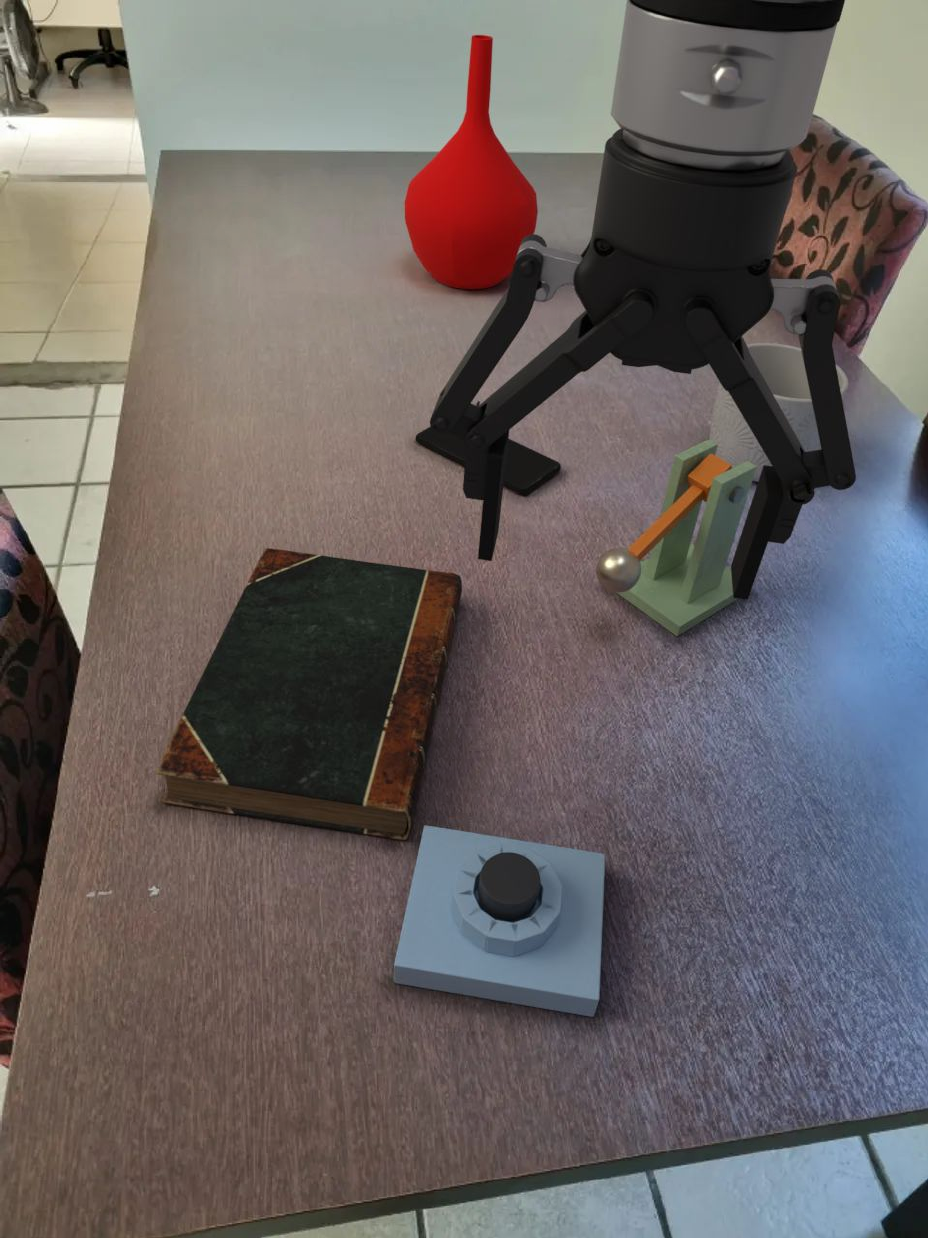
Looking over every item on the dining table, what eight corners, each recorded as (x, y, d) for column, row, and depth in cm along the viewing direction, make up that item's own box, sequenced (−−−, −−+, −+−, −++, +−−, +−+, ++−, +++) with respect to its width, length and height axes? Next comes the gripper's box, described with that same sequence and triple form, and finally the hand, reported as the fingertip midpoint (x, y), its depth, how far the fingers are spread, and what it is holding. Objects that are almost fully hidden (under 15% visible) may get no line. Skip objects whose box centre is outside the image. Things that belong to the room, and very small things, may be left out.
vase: (418, 306, 127) (425, 53, 107) (392, 253, 140) (394, 19, 120) (546, 299, 131) (577, 55, 111) (510, 249, 144) (531, 22, 124)
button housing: (600, 872, 63) (610, 837, 60) (593, 1018, 55) (604, 985, 52) (423, 843, 63) (425, 807, 61) (393, 983, 56) (393, 949, 53)
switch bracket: (676, 636, 80) (715, 504, 71) (609, 587, 85) (637, 456, 76) (748, 592, 85) (793, 463, 76) (681, 548, 90) (716, 421, 81)
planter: (826, 499, 98) (862, 405, 90) (707, 489, 98) (734, 394, 90) (802, 437, 107) (833, 347, 99) (693, 427, 107) (716, 337, 100)
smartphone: (524, 491, 94) (412, 435, 100) (523, 498, 94) (412, 442, 101) (564, 463, 98) (454, 411, 105) (563, 470, 98) (453, 418, 105)
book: (267, 577, 83) (160, 804, 64) (264, 545, 81) (152, 771, 62) (462, 604, 82) (410, 843, 63) (464, 572, 80) (411, 810, 61)
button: (539, 873, 58) (543, 856, 57) (534, 925, 55) (537, 909, 54) (482, 863, 58) (484, 847, 57) (474, 915, 56) (476, 899, 55)
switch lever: (622, 608, 76) (615, 585, 73) (591, 585, 78) (582, 561, 75) (740, 490, 78) (738, 464, 75) (706, 471, 80) (703, 444, 77)
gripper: (367, 128, 35) (370, 571, 49) (1065, 209, 33) (857, 646, 47) (409, 81, 40) (401, 492, 55) (1008, 148, 38) (837, 556, 53)
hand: (612, 564), depth 51 cm, fingers open, 13 cm apart
